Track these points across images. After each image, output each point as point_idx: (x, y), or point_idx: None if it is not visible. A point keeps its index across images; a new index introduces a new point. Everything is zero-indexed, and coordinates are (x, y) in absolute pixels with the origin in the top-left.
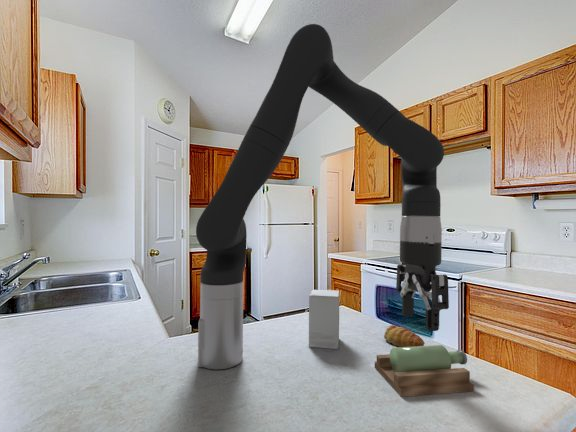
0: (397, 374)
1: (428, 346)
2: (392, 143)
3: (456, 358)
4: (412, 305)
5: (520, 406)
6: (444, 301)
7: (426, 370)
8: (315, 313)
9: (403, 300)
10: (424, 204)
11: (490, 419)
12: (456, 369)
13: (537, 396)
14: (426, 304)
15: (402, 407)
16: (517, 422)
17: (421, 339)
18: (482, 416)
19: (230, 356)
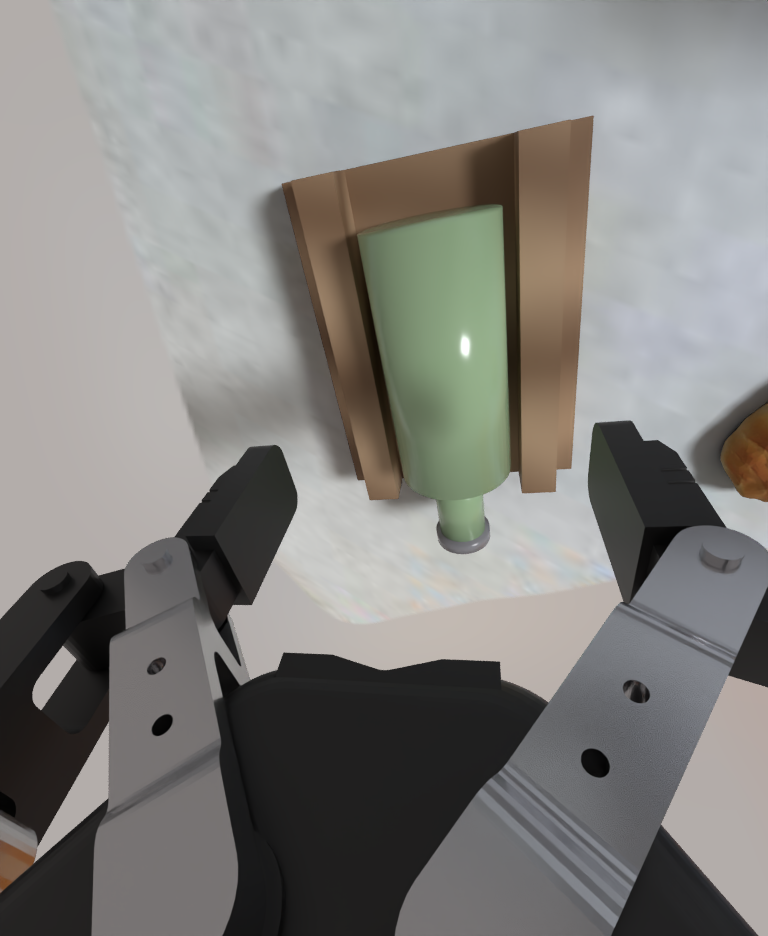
0: (311, 185)
1: (452, 437)
2: None
3: (437, 507)
4: (611, 546)
5: (298, 526)
6: (85, 678)
7: (368, 353)
8: None
9: (648, 508)
10: None
11: (222, 427)
12: (383, 469)
13: (350, 584)
14: (170, 570)
15: (215, 159)
16: None
17: (763, 495)
18: (231, 416)
19: None
